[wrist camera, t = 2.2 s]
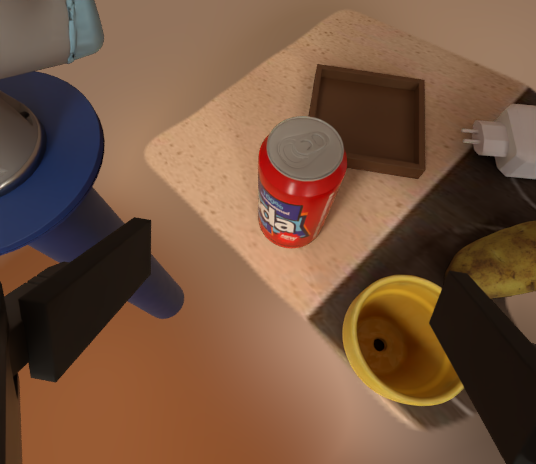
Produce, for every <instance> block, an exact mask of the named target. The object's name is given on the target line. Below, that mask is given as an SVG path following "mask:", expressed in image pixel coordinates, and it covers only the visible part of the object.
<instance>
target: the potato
mask: <svg viewBox="0 0 536 464" xmlns="http://www.w3.org/2000/svg"><path fill="white" fill-rule="evenodd" d="M449 270H450V271H456V272H462V273H467V274H468V275H469V276H470V277H471V278H472V279H473V280H474V281H475V282H476V284H477V285H478V286H479V287H480V288H481V289H482V290H483V291H484V292H485V293H486V294H487V296H488V297H489V298H490V299H492V298H501V297H510V296H512V295H518V294H524V293H529V292H533V291H536V221H530V222H525V223H522V224H518V225H515V226H513V227H510V228H505V229H502V230H500V231H497V232H495V233H493V234H491V235H488V236H486V237H483V238H481V239H478V240H476V241H474V242H473V243H471V244H469V245H467V246H465V247H464V248H463V249H461V250H460V251H459V252H458V253H456V255H455V256H454V257H453V259H452V261H451V263H450V265H449V266H448V268H447V270H446V272H445V275H444V280H446V277H447V274H448V272H449Z"/></svg>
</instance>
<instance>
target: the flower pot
mask: <svg viewBox="0 0 536 464" xmlns="http://www.w3.org/2000/svg"><path fill="white" fill-rule="evenodd" d="M441 290H442V288H441V287H439V286H438V285H436V284H435V283H433V282H431V281H429V280H426V279H423V278H421V277H417V276H412V275H392V276H388V277H384V278H382V279H379V280H377V281H375V282H374V283H372V284H371V285H369V286H368V287H367V288H366V289H364V290H363V291H362V292H361V293H360V294H359V295H358V296H357V297H356V298H355V299H354V301H353V302H352V303H351V305H350V306H349V308H348V310H347V313H346V315H345V319H344V323H343V344H344V349H345V352H346V355H347V358H348V360H349V362H350V364H351V366H352V368H353V370H354V371H355V373H356V374H357V375H358V377H359V378H360V379H361V380H362V381H363V382H364V383H365V384H366V385H367V386H368V387H369V388H371V389H372V390H373V391H375V392H376V393H378V394H379V395H381V396H383V397H385V398H388V399H390V400H393V401H397V402H400V403H404V404H410V405H418V406H430V405H436V404H440V403H443V402H446V401H448V400H450V399H452V398H453V397H454V396H456V395H457V394H458V393H459V392H460V391H461V390H462V389H463V388H464V386H463V384H462V383H461V381H460V379H459V377H458V375H457V374H456V372H455V370H454V368H453V366H452V364H451V363H450V361H449V359H448V357H447V355H446V353H445V352H444V350H443V348H442V346H441V344H440V343H439V341H438V339H437V337H436V335H435V333H434V332H433V330H432V328H431V326H430V324H429V321H430V318H431V316H432V313H433V311H434V308H435V305H436V303H437V300H438V298H439V295H440V293H441ZM375 339H380V340H381V341H382V342H383V343H384V349H383V350H382V351H377V350H376V349H375V348H374V340H375Z"/></svg>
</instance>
